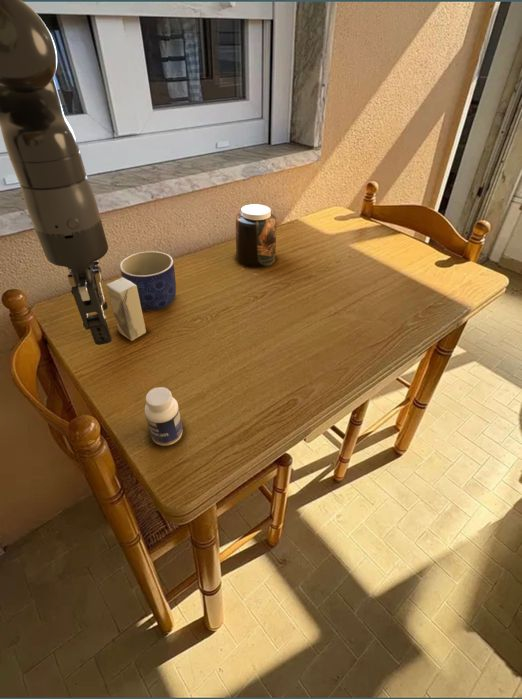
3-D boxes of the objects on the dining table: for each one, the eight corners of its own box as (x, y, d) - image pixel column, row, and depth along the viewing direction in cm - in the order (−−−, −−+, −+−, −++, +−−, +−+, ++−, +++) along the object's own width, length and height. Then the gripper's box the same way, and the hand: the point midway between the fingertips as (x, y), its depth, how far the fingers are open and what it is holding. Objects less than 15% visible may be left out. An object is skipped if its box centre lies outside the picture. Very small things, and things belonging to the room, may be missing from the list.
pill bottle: (147, 445, 64) (135, 407, 58) (157, 420, 68) (147, 382, 62) (178, 448, 64) (170, 410, 58) (186, 422, 68) (179, 385, 62)
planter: (175, 315, 93) (168, 276, 85) (123, 315, 92) (113, 276, 85) (182, 288, 102) (176, 251, 95) (135, 288, 102) (126, 250, 94)
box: (118, 332, 87) (104, 284, 79) (134, 323, 90) (122, 275, 81) (132, 342, 85) (119, 293, 76) (148, 332, 87) (137, 284, 79)
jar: (234, 267, 111) (232, 216, 101) (238, 249, 120) (236, 201, 110) (274, 268, 111) (276, 218, 101) (275, 250, 120) (277, 202, 110)
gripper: (36, 201, 50) (75, 304, 61) (27, 248, 40) (75, 361, 51) (97, 195, 52) (123, 295, 63) (102, 238, 42) (133, 349, 53)
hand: (102, 325), depth 57 cm, fingers open, 8 cm apart
